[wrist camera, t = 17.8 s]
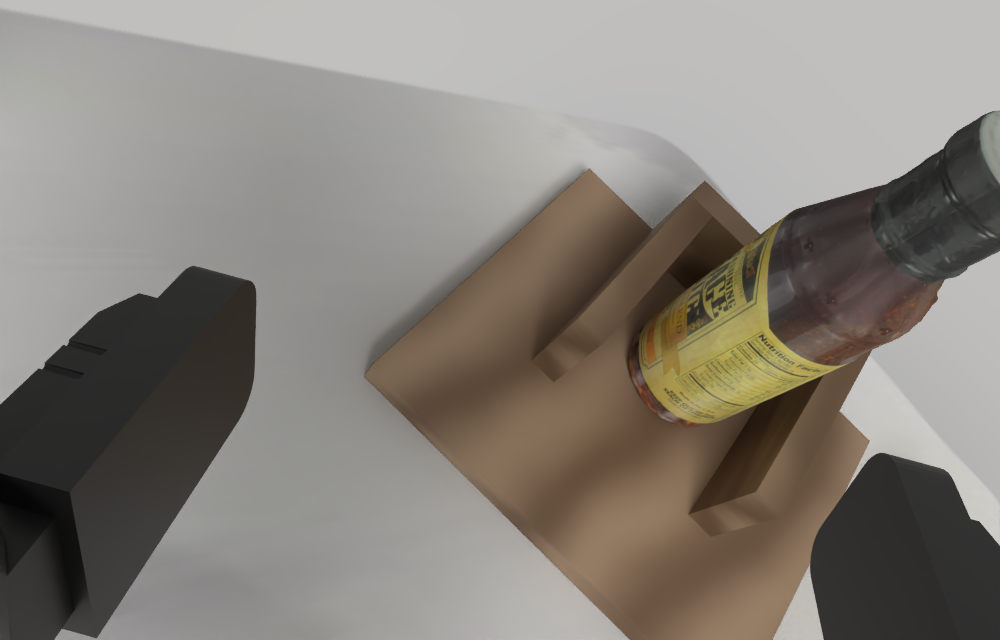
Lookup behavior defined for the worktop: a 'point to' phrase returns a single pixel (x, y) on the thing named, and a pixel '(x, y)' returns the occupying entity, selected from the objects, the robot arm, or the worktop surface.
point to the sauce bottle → (822, 286)
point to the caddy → (624, 422)
